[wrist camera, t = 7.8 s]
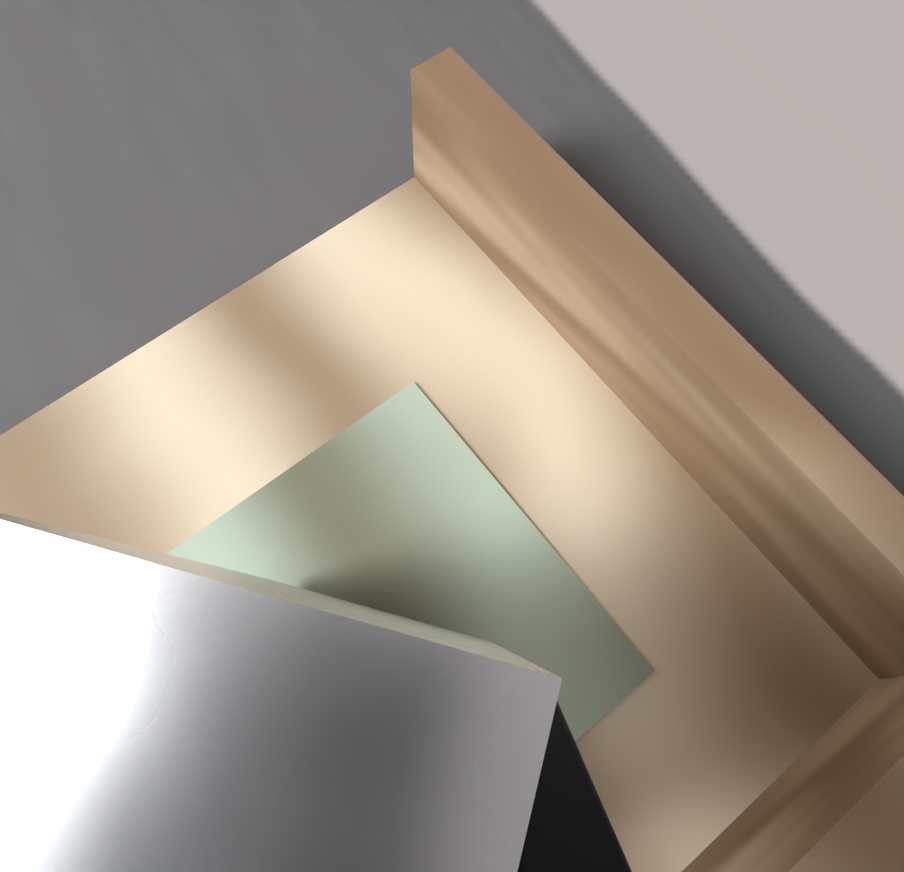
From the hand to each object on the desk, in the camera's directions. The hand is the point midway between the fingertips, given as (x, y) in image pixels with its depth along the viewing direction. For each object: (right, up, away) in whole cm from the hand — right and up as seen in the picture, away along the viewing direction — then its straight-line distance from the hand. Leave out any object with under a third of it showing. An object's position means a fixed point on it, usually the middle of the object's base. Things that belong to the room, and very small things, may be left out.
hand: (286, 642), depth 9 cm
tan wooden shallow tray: (+1, -1, +10) cm, 11 cm away
